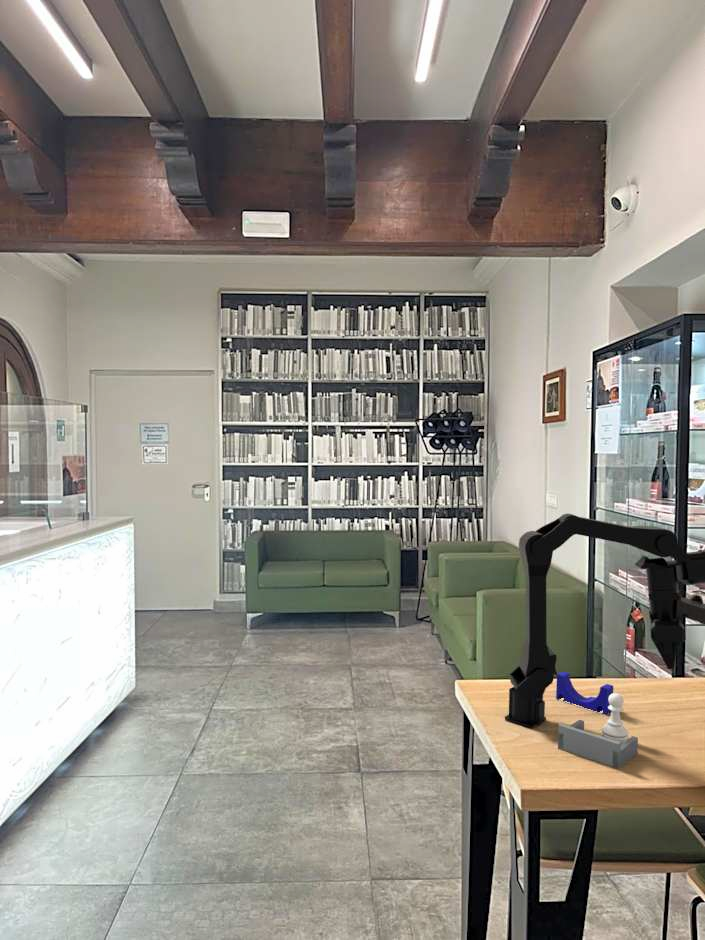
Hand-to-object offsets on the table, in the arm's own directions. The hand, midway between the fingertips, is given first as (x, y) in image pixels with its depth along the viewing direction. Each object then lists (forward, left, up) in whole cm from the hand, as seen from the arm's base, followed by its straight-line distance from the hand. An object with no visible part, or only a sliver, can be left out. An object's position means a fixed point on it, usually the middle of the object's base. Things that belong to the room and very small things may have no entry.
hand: (669, 661), depth 141 cm
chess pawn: (-5, -14, -14) cm, 21 cm away
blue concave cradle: (-17, -2, -14) cm, 22 cm away
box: (-5, -22, -13) cm, 27 cm away
